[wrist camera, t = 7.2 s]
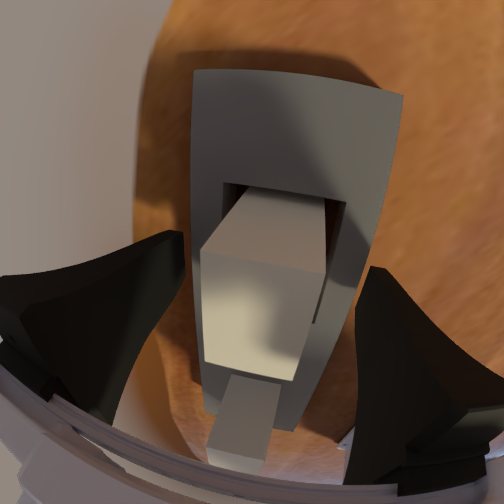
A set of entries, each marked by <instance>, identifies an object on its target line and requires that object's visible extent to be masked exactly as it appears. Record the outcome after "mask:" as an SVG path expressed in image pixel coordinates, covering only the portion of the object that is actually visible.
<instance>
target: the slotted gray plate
mask: <svg viewBox="0 0 504 504" xmlns="http://www.w3.org/2000/svg"><path fill="white" fill-rule="evenodd" d="M403 96H404V95H400V94H397V93H393V92H390V91H386V90H382V89H379V88H375V87H371V86H366V85H362V84H358V83H353V82H348V81H343V80H338V79H332V78H326V77H320V76H313V75H306V74H298V73H289V72H279V71H266V70H249V69H195V70H194V75H193V91H192V112H191V143H190V219H191V252H192V274H193V291H194V307H195V320H196V332H197V344H198V354H199V364H200V374H201V382H202V391H203V399H204V407H205V412H206V413H209V414H213V415H216V416H217V417H216V419H215V422H214V425H213V428H212V430H211V433H210V436H209V439H208V441H207V444H206V451H207V455H208V460H209V464H210V465H213V466H217V467H221V468H225V469H229V470H233V471H237V472H242V473H246V474H251V475H256V476H258V474H259V472H260V470H261V467H262V465H263V463H264V461H265V458H266V453H267V449H268V445H269V441H270V436H271V432H272V428H274V429H280V430H285V431H292V432H293V431H294V429H295V427H296V425H297V424H298V422H299V420H300V418H301V416H302V414H303V412H304V410H305V408H306V406H307V405H308V403H309V401H310V399H311V397H312V395H313V392H314V390H315V388H316V386H317V384H318V382H319V380H320V378H321V376H322V374H323V371H324V369H325V367H326V365H327V363H328V360H329V358H330V356H331V353H332V351H333V349H334V346H335V344H336V342H337V339H338V337H339V335H340V332H341V330H342V327H343V325H344V322H345V320H346V317H347V314H348V312H349V309H350V306H351V304H352V301H353V298H354V296H355V293H356V290H357V287H358V284H359V282H360V279H361V276H362V273H363V270H364V267H365V264H366V261H367V257H368V254H369V251H370V248H371V244H372V241H373V238H374V234H375V231H376V227H377V224H378V220H379V217H380V213H381V209H382V205H383V201H384V197H385V193H386V189H387V185H388V180H389V176H390V171H391V167H392V162H393V157H394V152H395V147H396V142H397V136H398V130H399V124H400V118H401V111H402V104H403ZM237 184H241V185H249V186H256V187H263V188H269V189H276V190H282V191H289V192H295V193H301V194H306V195H312V196H318V197H323V198H328V199H334V200H339V205H338V210H337V215H336V219H335V224H334V228H333V233H332V237H331V241H330V246H329V250H328V254H327V258H326V275H325V278H324V282H323V285H322V289H321V293H320V296H319V299H318V303H317V306H316V310H315V313H314V316H313V320H312V323H311V326H310V329H309V332H308V336H307V339H306V342H305V345H304V348H303V351H302V354H301V357H300V360H299V363H298V366H297V369H296V371H295V374H294V377H293V380H292V381H290V380H284V379H279V378H274V377H269V376H264V375H259V374H254V373H250V372H246V371H241V370H237V369H233V368H229V367H225V366H221V365H217V364H213V363H209V362H206V361H205V356H204V340H203V322H202V300H201V268H200V249H201V248H202V247H203V245H204V244H205V243H206V242H207V240H208V239H209V238H210V236H211V235H212V234H213V232H214V231H215V230H216V228H217V227H218V226H219V224H220V223H221V222H222V221H223V219H224V218H225V217H226V215H227V214H228V213H229V212H230V210H231V209H232V208H233V206H234V205H235V204H236V192H237Z"/></svg>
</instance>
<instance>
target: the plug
mask: <svg viewBox="0 0 504 504" xmlns="http://www.w3.org/2000/svg"><path fill="white" fill-rule="evenodd" d="M200 268H201V300H202V322H203V340H204V356H205V361H206V362H209V363H213V364H217V365H221V366H225V367H229V368H233V369H237V370H241V371H246V372H250V373H254V374H259V375H264V376H269V377H274V378H279V379H284V380H290V381H292V380H293V377H294V374H295V371H296V369H297V366H298V363H299V360H300V357H301V354H302V351H303V348H304V345H305V342H306V339H307V336H308V332H309V329H310V326H311V323H312V320H313V316H314V313H315V310H316V306H317V303H318V299H319V296H320V293H321V289H322V285H323V282H324V278H325V275H326V238H325V204H324V198H323V197H318V196H312V195H306V194H301V193H295V192H289V191H282V190H276V189H269V188H263V187H256V186H249V188H248V189H247V190H246V191H245V193H244V194H243V195H242V196H241V198H240V199H239V200H238V201H237V203H236V204H235V205H234V206H233V208H232V209H231V210H230V212H229V213H228V214H227V215H226V217H225V218H224V219H223V221H222V222H221V223H220V224H219V226H218V227H217V228H216V230H215V231H214V232H213V234H212V235H211V236H210V238H209V239H208V240H207V242H206V243H205V244H204V245H203V247H202V248H201V249H200Z"/></svg>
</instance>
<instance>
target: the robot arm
mask: <svg viewBox="0 0 504 504" xmlns="http://www.w3.org/2000/svg"><path fill="white" fill-rule="evenodd" d="M185 275H186V274H185V259H184V240H183V232H180V231H174V230H167V231H163V232H161V233H158V234H155V235H153V236H150V237H148V238H146V239H143V240H141V241H139V242H136V243H134V244H132V245H129V246H127V247H125V248H122V249H120V250H117V251H115V252H112V253H110V254H107V255H105V256H102V257H99V258H96V259H93V260H90V261H87V262H84V263H81V264H77V265H73V266H69V267H65V268H61V269H56V270H51V271H46V272H40V273H33V274H22V275H5V276H2V277H0V335H1V337H2V339H3V341H2V342H1V343H0V440H1V442H2V443H3V444H4V445H5V446H6V447H7V449H8V450H9V451H10V452H11V453H12V454H13V455H14V456H15V457H16V459H17V460H19V462H20V463H21V464H22V467H21V469H20V470H19V472H18V474H17V477H18V480H19V483H20V485H21V488H22V489H23V492H22V494H21V496H20V498H19V500H18V502H17V504H209V503H206V502H203V501H199V500H196V499H193V498H190V497H187V496H184V495H181V494H178V493H175V492H173V491H170V490H167V489H164V488H162V487H159V486H157V485H154V484H152V483H149V482H147V481H145V480H142V479H140V478H138V477H135V476H133V475H131V474H129V473H127V472H126V471H125V469H124V468H122V467H121V466H119V465H118V464H116V463H115V462H113V461H112V460H111V459H110V458H109V457H107V456H106V455H105V454H104V453H103V451H102V450H101V449H100V448H98V447H96V446H95V445H93V444H92V443H91V442H89V441H87V440H86V439H85V438H87V439H89V440H90V441H92V442H94V443H96V444H97V445H99V446H101V447H103V448H105V449H107V450H109V451H110V452H112V453H114V454H116V455H118V456H120V457H122V458H124V459H126V460H128V461H130V462H133V463H135V464H137V465H140V466H142V467H144V468H146V469H149V470H151V471H153V472H156V473H158V474H161V475H164V476H166V477H169V478H171V479H174V480H177V481H180V482H183V483H186V484H189V485H192V486H195V487H198V488H202V489H205V490H209V491H212V492H216V493H220V494H223V495H228V496H232V497H236V498H241V499H246V500H251V501H256V502H262V503H268V504H504V455H503V456H500V457H497V458H494V459H492V460H490V461H487V462H486V463H485V456H484V455H486V454H488V453H489V451H490V447H489V442H490V441H491V440H493V439H494V438H495V437H497V436H498V435H499V434H500V433H502V432H503V431H504V378H503V377H501V376H499V375H497V374H496V373H494V372H492V371H491V370H489V369H488V368H486V367H485V366H484V365H482V364H481V363H479V362H478V361H476V360H475V359H474V358H472V357H471V356H470V355H469V354H467V353H466V352H465V351H464V350H462V349H461V348H460V347H459V346H458V345H456V344H455V343H454V342H453V341H452V340H451V339H450V338H449V337H448V336H446V335H445V334H444V333H443V332H442V331H441V330H440V329H439V328H438V327H437V326H436V325H435V324H434V323H433V322H432V321H431V320H430V319H429V317H428V316H427V315H426V314H425V313H424V312H423V311H422V310H421V309H420V308H419V306H418V305H417V304H416V303H415V302H414V301H413V299H412V298H411V297H410V296H409V295H408V294H407V292H406V291H405V290H404V289H403V288H402V286H401V285H400V284H399V283H398V282H397V280H396V279H395V278H394V277H393V276H392V275H391V274H390V273H389V272H388V271H387V270H386V269H385V268H380V267H374V266H370V269H369V272H368V274H367V277H366V280H365V283H364V286H363V289H362V291H361V294H360V297H359V299H358V302H357V305H356V307H355V342H356V353H357V366H358V403H357V414H356V422H355V426H354V428H353V429H352V430H351V431H350V432H349V433H348V434H347V435H346V436H345V437H344V438H343V439H342V440H341V442H340V443H339V444H338V445H337V448H338V449H343V450H346V453H345V465H344V475H343V484H342V485H330V484H315V483H304V482H295V481H287V480H280V479H273V478H267V477H261V476H256V475H251V474H246V473H242V472H237V471H233V470H229V469H225V468H221V467H217V466H213V465H210V464H206V463H203V462H200V461H196V460H193V459H190V458H187V457H184V456H181V455H178V454H175V453H173V452H170V451H167V450H165V449H162V448H159V447H157V446H154V445H152V444H149V443H147V442H144V441H142V440H140V439H138V438H135V437H133V436H131V435H129V434H126V433H124V432H122V431H120V430H118V429H116V428H114V427H112V424H113V420H114V417H115V414H116V410H117V407H118V404H119V401H120V398H121V395H122V393H123V390H124V387H125V384H126V382H127V379H128V377H129V374H130V372H131V370H132V368H133V365H134V363H135V361H136V359H137V357H138V355H139V353H140V351H141V349H142V347H143V345H144V343H145V341H146V339H147V338H148V336H149V334H150V333H151V331H152V330H153V328H154V327H155V325H156V324H157V322H158V321H159V319H160V318H161V316H162V315H163V313H164V312H165V311H166V309H167V308H168V306H169V305H170V303H171V302H172V300H173V299H174V297H175V296H176V294H177V292H178V290H179V288H180V286H181V284H182V282H183V279H184V277H185ZM80 435H82V436H84V437H85V438H83V437H82V436H80Z"/></svg>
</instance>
